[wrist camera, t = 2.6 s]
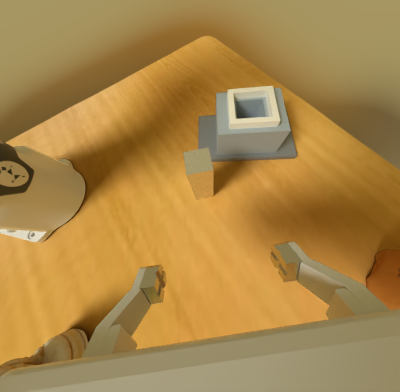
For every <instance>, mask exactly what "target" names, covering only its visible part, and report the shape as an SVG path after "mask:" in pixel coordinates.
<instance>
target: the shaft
mask: <svg viewBox="0 0 400 392" xmlns="http://www.w3.org/2000/svg"><path fill="white" fill-rule="evenodd" d="M183 154H184V161H185V167H186V174H187V177H188V180H189V182H190V185H191V187H192V190H193V192H194V195H195V197H196V200H197V199H202V198H208V197H213V182H214V170H213V165H212V161H211V156H210V152H209V147H208V148H203V149H198V150H193V151H188V152H183Z"/></svg>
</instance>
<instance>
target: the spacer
mask: <svg viewBox="0 0 400 392" xmlns="http://www.w3.org/2000/svg"><path fill="white" fill-rule="evenodd" d="M256 97H266V102H267V108H268V113H269V117H257V118H242V119H236V116H235V105H234V99H243V98H256ZM227 104H228V118H229V129H245V128H262V127H277V126H278V124H279V122H280V117H279V112H278V107H277V103H276V98H275V94H274V89H273V86H263V87H251V88H240V89H228V90H227Z"/></svg>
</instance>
